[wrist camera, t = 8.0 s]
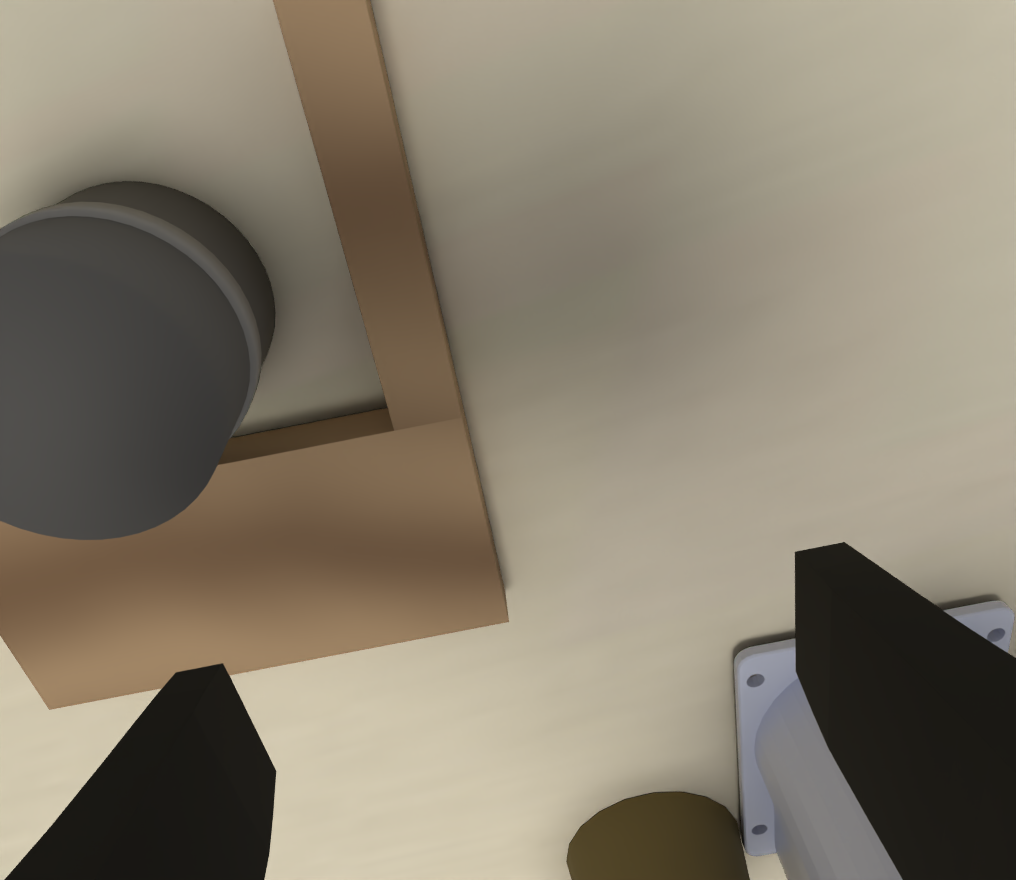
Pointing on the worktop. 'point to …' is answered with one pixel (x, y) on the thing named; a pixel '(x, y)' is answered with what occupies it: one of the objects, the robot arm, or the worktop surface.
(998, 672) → the robot arm
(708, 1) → the worktop surface
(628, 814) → the olive pawn
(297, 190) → the worktop surface
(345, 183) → the brown wooden u-shaped bracket
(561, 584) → the worktop surface
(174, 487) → the grey flanged cylinder
